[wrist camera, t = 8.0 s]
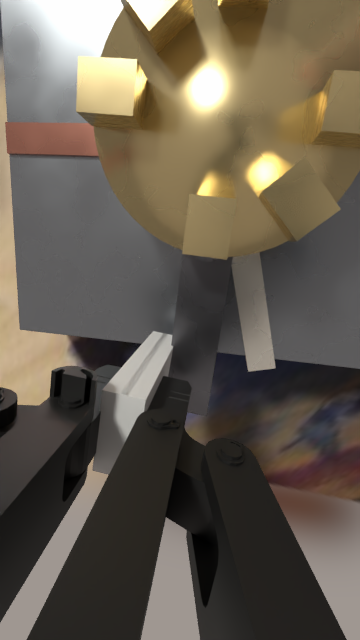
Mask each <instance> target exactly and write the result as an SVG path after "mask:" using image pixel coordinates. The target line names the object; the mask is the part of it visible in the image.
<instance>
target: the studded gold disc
mask: <svg viewBox="0 0 360 640" xmlns="http://www.w3.org/2000/svg"><path fill="white" fill-rule="evenodd" d="M120 1H121V3H122V5H123V8H122V10H121V12H120V13H119V15H118V17H117V18H116V20H115V22H114V24H113V26H112V29H111V31H110V33H109V35H108V37H107V39H106V42H105V45H104V48H103V51H102V54H101V57H86V56H78V73H77V100H76V112H77V113H78V114H79V115H80V116H82V117H83V118H84V119H85V120H86V121H87V122H88V123H89V124H90V125H91V126H93V127H94V135H95V142H96V146H97V151H98V155H99V159H100V162H101V165H102V168H103V170H104V173H105V176H106V178H107V180H108V182H109V184H110V186H111V188H112V190H113V192H114V194H115V195H116V197H117V198H118V200H119V201H120V203H121V204H122V206H123V207H124V208H125V209H126V211H127V212H128V213H129V214H130V215H131V216H132V218H133V219H134V220H135V221H136V222H138V223H139V224H140V225H141V226H142V227H143V228H144V229H145V230H146V231H148V232H149V233H151V234H152V235H154V236H155V237H157V238H158V239H159V240H161V241H163V242H165V243H167V244H169V245H171V246H173V247H175V248H178V249H181V250H183V251H182V254H183V255H182V263H181V271H180V279H179V287H178V295H177V303H176V311H175V319H174V327H173V335H172V343H171V345H172V346H173V352H172V357H171V363H170V369H169V374H168V377H171V378H176V379H180V380H185V381H188V382H189V384H190V386H191V387H192V390H191V395H190V400H189V405H188V410H187V412H188V413H194V414H199V415H204V416H207V410H208V404H209V398H210V392H211V386H212V380H213V374H214V368H215V362H216V356H217V350H218V344H219V338H220V331H221V325H222V319H223V313H224V307H225V301H226V295H227V289H228V283H229V277H230V271H231V265H232V259H233V257H235V256H244V255H249V254H254V253H259V252H262V251H265V250H268V249H271V248H274V247H276V246H278V245H280V244H283V243H285V242H287V241H289V242H295V241H298V240H299V239H301V238H302V237H303V236H305V235H306V234H307V233H309V232H310V231H312V230H313V229H314V228H316V227H317V226H319V225H320V224H321V223H323V222H324V221H325V220H327V219H328V218H330V217H331V216H332V215H334V214H335V213H337V212H338V211H339V210H341V209H340V207H339V206H338V204H337V202H338V201H339V200H340V198H341V197H342V196H343V194H344V193H345V192H346V191H347V189H348V188H349V187H350V185H351V184H352V182H353V181H354V179H355V177H356V176H357V174H358V172H359V171H360V0H120Z"/></svg>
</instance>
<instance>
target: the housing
mask: <svg viewBox="0 0 360 640" xmlns="http://www.w3.org/2000/svg"><path fill="white" fill-rule="evenodd" d="M0 2H1V19H2V36H3V53H4V70H5V87H6V104H7V121H8V122H5V124H6V140H7V153H8V154H10V171H11V188H12V205H13V222H14V239H15V255H16V272H17V289H18V306H19V323H20V330H28V331H37V332H45V333H54V334H63V335H71V336H80V337H89V338H97V339H106V340H115V341H123V342H132V343H141V344H142V343H143V342H144V341H145V340H146V339H147V338H148V337H149V335H150V334H151V333H152V332H153V331H155V332H160V333H165V334H170V335H173V327H174V319H175V311H176V303H177V295H178V287H179V279H180V271H181V263H182V255H183V254H182V251H183V250H181V249H178V248H175V247H173V246H171V245H169V244H167V243H165V242H163V241H161V240H159V239H158V238H157V237H155V236H154V235H152V234H151V233H149V232H148V231H146V230H145V229H144V228H143V227H142V226H141V225H140V224H139V223H138V222H136V221H135V220H134V219H133V218H132V216H131V215H130V214H129V213H128V212H127V211H126V209H125V208H124V207H123V206H122V204H121V203H120V201H119V200H118V198H117V197H116V195H115V194H114V192H113V190H112V188H111V186H110V184H109V182H108V180H107V178H106V176H105V173H104V170H103V168H102V165H101V162H100V159H99V155H98V151H97V146H96V142H95V135H94V127H93V126H91V125H90V124H89V123H88V122H87V121H86V120H85V119H84V118H83V117H82V116H80V115H79V114H78V113H77V112H76V100H77V73H78V56H86V57H101V54H102V51H103V48H104V45H105V42H106V39H107V37H108V35H109V33H110V31H111V29H112V26H113V24H114V22H115V20H116V18H117V17H118V15H119V13H120V12H121V10H122V8H123V5H122V3H121V1H120V0H0ZM337 204H338V206H339V207H340V209H341V210H339V211H338V212H337V213H335V214H334V215H332V216H331V217H330V218H328V219H327V220H325V221H324V222H323V223H321V224H320V225H319V226H317V227H316V228H314V229H313V230H312V231H310V232H309V233H307V234H306V235H305V236H303V237H302V238H301V239H299V240H298V241H295V242H289V241H287V242H285V243H283V244H280V245H278V246H276V247H274V248H271V249H268V250H265V251H262V252H259V253H254V254H249V255H244V256H235V257H233V259H232V265H231V271H230V277H229V283H228V289H227V295H226V301H225V307H224V313H223V319H222V325H221V331H220V338H219V344H218V350H217V352H219V353H227V354H236V355H245V356H246V361H247V367H248V372H250V371H258V370H266V369H275V368H276V367H275V360H274V359H279V360H288V361H297V362H305V363H314V364H323V365H331V366H340V367H349V368H357V369H360V171H359V172H358V174H357V176H356V177H355V179H354V181H353V182H352V184H351V185H350V187H349V188H348V189H347V191H346V192H345V193H344V194H343V196H342V197H341V198H340V200H339V201H338V202H337Z"/></svg>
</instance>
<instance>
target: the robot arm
mask: <svg viewBox="0 0 360 640" xmlns="http://www.w3.org/2000/svg"><path fill="white" fill-rule="evenodd" d="M171 343H172V335H170V334H165V333H160V332H155V331H153V332H152V333H151V334H150V335H149V337H148V338H147V339H146V340H145V341H144V342H143V343H142V345H141V346H140V347H139V348H138V349H137V350H136V351H135V353H134V354H133V355H132V356H131V357H130V358H129V359H128V361H127V362H126V363H125V364H124V365H123V366H122V368H121V367H117V366H112V365H105V366H102V367H100V368H97V369H96V370H95V371H93V370H91V369H88V368H85V367H79V366H65V367H60V368H57V369H55V370H52V374H51V388H50V397H49V398H48V399H47V400H45V401H44V402H43V403H42V404H41V405H39V406H32V405H17V394H16V393H15V392H13V391H12V390H9V389H6V388H1V387H0V622H1V620H2V619H3V617H4V615H5V614H6V612H7V610H8V609H9V607H10V605H11V603H12V602H13V600H14V599H15V597H16V595H17V594H18V592H19V591H20V589H21V587H22V586H23V584H24V582H25V581H26V579H27V577H28V576H29V574H30V572H31V571H32V569H33V567H34V566H35V564H36V562H37V561H38V559H39V557H40V556H41V554H42V552H43V551H44V549H45V548H46V546H47V544H48V543H49V541H50V539H51V538H52V536H53V534H54V533H55V531H56V529H57V528H58V526H59V524H60V523H61V521H62V520H63V518H64V516H65V515H66V513H67V511H68V510H69V508H70V506H71V505H72V503H73V501H74V500H75V498H76V496H77V495H78V493H79V491H80V490H81V488H82V486H83V485H84V483H85V480H86V476H87V467H88V465H89V463H90V462H91V460H92V458H93V457H94V462H93V471H97V472H101V473H104V474H108V475H109V476H108V478H107V480H106V482H105V484H104V486H103V488H102V490H101V492H100V494H99V496H98V498H97V500H96V502H95V504H94V506H93V508H92V510H91V512H90V514H89V516H88V518H87V520H86V522H85V524H84V526H83V528H82V530H81V532H80V534H79V536H78V538H77V540H76V542H75V544H74V546H73V548H72V550H71V552H70V554H69V556H68V558H67V560H66V562H65V564H64V566H63V568H62V570H61V572H60V574H59V576H58V578H57V580H56V582H55V584H54V586H53V588H52V590H51V592H50V594H49V596H48V598H47V600H46V602H45V604H44V606H43V608H42V610H41V612H40V614H39V616H38V618H37V620H36V622H35V624H34V626H33V628H32V630H31V632H30V634H29V636H28V638H27V640H141V635H142V630H143V625H144V620H145V615H146V610H147V606H148V601H149V596H150V591H151V586H152V581H153V576H154V572H155V566H156V561H157V557H158V552H159V547H160V542H161V537H162V533H163V527H164V523H165V518H166V517H167V518H169V519H170V520H172V521H173V522H175V523H176V524H178V525H180V526H181V527H183V528H185V529H186V530H187V536H186V538H187V545H188V552H189V560H190V567H191V575H192V581H193V589H194V597H195V604H196V612H197V619H198V626H199V634H200V640H346V638H345V636H344V634H343V632H342V630H341V628H340V626H339V624H338V622H337V620H336V618H335V616H334V614H333V612H332V610H331V608H330V606H329V604H328V602H327V600H326V598H325V596H324V594H323V592H322V590H321V588H320V586H319V584H318V582H317V580H316V578H315V576H314V574H313V572H312V570H311V568H310V566H309V564H308V562H307V560H306V558H305V556H304V554H303V552H302V550H301V548H300V546H299V544H298V542H297V540H296V538H295V536H294V534H293V532H292V530H291V528H290V526H289V524H288V522H287V520H286V518H285V516H284V514H283V512H282V510H281V508H280V506H279V504H278V502H277V500H276V498H275V496H274V494H273V492H272V490H271V488H270V486H269V484H268V482H267V480H266V478H265V476H264V474H263V472H262V470H261V468H260V466H259V464H258V462H257V460H256V458H255V456H254V455H253V453H252V452H251V451H250V450H249V449H248V448H246V447H245V446H244V445H242V444H240V443H238V442H236V441H233V440H229V439H214V440H212V441H209V442H208V443H207V445H206V446H204V445H202V444H200V443H198V442H197V441H195V440H194V439H192V438H191V437H190V436H189V435H188V434H187V432H186V431H185V428H184V425H185V420H186V415H187V410H188V405H189V400H190V395H191V390H192V387H191V386H190V384H189V382H188V381H185V380H180V379H176V378H171V377H168V374H169V369H170V363H171V357H172V352H173V346H172V345H171Z"/></svg>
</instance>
